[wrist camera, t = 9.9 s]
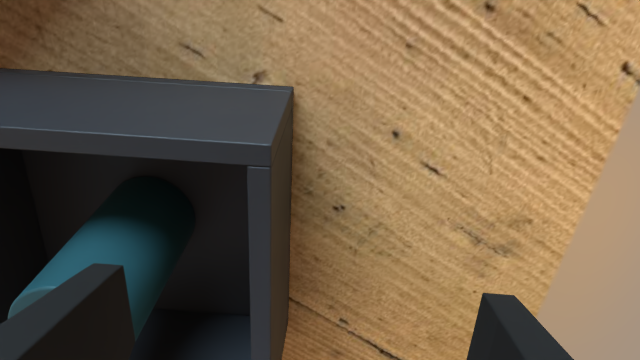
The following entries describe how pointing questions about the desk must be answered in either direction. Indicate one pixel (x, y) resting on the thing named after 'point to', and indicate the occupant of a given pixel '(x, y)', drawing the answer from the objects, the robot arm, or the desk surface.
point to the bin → (173, 167)
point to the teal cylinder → (125, 244)
